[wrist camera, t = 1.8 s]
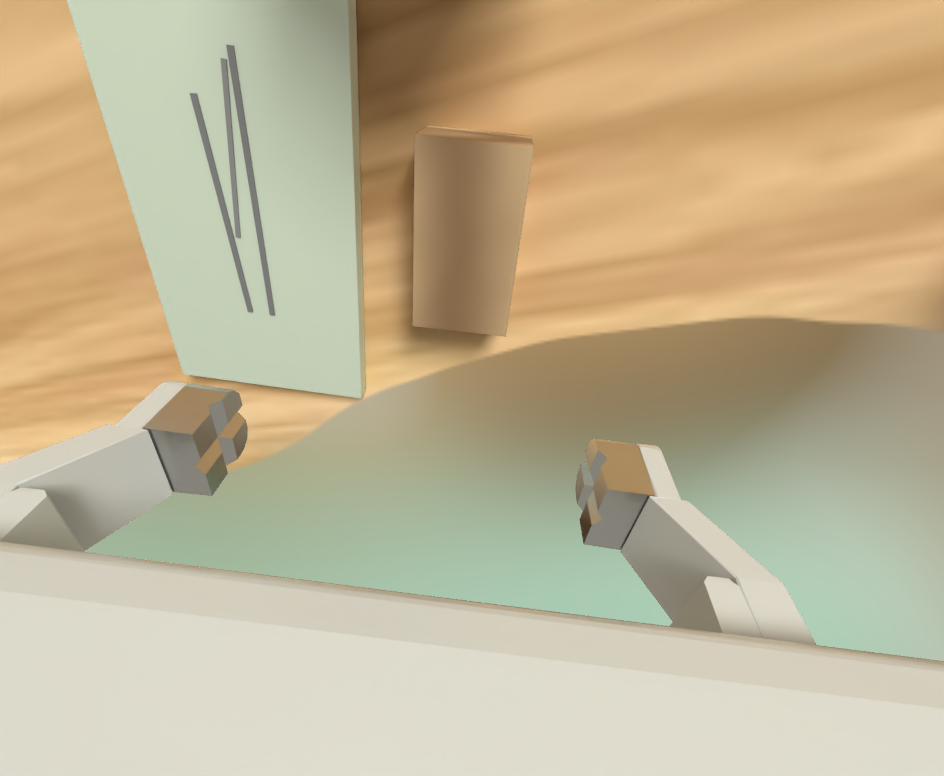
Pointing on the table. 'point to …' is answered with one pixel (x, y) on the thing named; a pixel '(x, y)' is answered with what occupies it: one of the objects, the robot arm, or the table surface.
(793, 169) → the table surface
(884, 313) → the table surface
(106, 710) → the robot arm
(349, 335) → the board
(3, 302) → the table surface
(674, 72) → the table surface
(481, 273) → the block
